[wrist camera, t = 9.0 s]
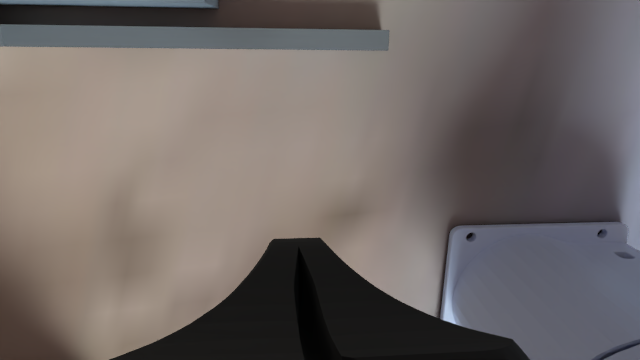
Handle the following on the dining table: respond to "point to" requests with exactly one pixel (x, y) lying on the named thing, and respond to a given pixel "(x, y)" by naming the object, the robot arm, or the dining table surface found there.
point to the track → (191, 37)
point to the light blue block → (120, 3)
